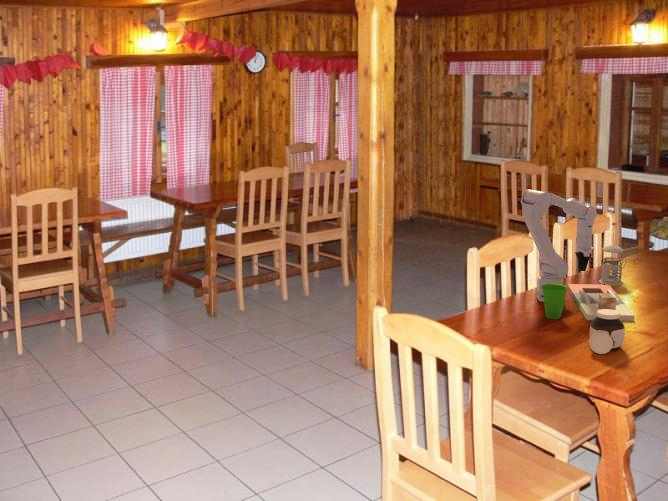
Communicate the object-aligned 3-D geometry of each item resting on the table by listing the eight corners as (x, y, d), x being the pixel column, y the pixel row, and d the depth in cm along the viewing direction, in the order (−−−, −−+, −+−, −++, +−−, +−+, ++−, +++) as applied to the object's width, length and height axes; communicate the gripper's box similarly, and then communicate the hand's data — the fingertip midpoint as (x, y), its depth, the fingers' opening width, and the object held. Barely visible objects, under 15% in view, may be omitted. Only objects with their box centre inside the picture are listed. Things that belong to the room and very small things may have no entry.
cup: (537, 318, 293) (538, 288, 290) (543, 312, 301) (544, 282, 298) (563, 322, 289) (564, 291, 286) (569, 315, 296) (570, 285, 294)
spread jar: (617, 343, 266) (619, 308, 264) (631, 355, 255) (633, 318, 253) (580, 344, 266) (582, 309, 263) (592, 356, 255) (594, 319, 252)
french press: (593, 281, 343) (596, 221, 337) (614, 277, 347) (618, 218, 342) (610, 286, 334) (613, 225, 329) (632, 283, 339) (636, 222, 333)
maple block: (601, 311, 294) (601, 297, 293) (598, 307, 299) (598, 293, 298) (615, 311, 293) (616, 297, 292) (612, 307, 298) (613, 293, 297)
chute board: (586, 320, 290) (587, 310, 290) (567, 288, 331) (567, 280, 330) (634, 321, 289) (634, 311, 288) (608, 289, 329) (609, 280, 329)
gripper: (598, 240, 311) (596, 275, 314) (591, 232, 325) (589, 266, 328) (579, 240, 311) (577, 275, 314) (572, 232, 325) (571, 266, 328)
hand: (582, 270), depth 321 cm, fingers closed
